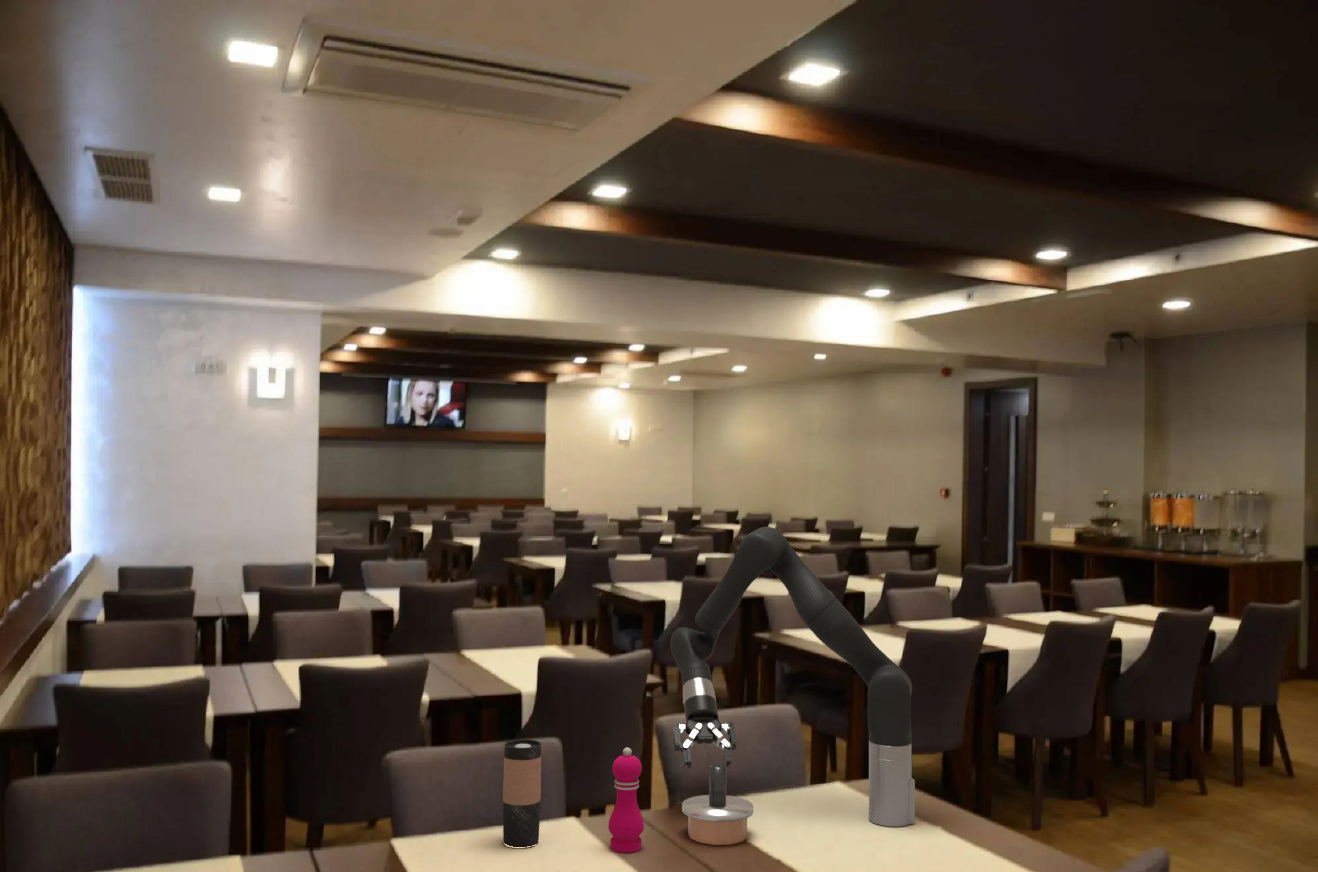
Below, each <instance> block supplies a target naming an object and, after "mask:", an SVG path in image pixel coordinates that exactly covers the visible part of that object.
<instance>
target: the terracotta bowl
mask: <svg viewBox="0 0 1318 872" xmlns="http://www.w3.org/2000/svg"><path fill="white" fill-rule="evenodd" d="M687 817H688V819H687V821H688V822H687V834H688V837H689V839H691V840H693V841H695V842H697V843H700V844H707V845H713V846H723V845H724V846H725V845H735V844H738V843H742V842H744V840H746V838H748V818H746V819H742V820H738V821H730V822H713V821H704V820H698V819H694V818H691V817H689V816H687Z"/></svg>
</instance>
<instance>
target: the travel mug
mask: <svg viewBox="0 0 1318 872" xmlns="http://www.w3.org/2000/svg"><path fill="white" fill-rule="evenodd" d="M503 752H504V756H503V758H504V759H503V762H504V763H503V781H502V782H503V784H502V785H503V786H502V787H503V788H502V831H503V832H502V835H503V837H502V839H503V840H502V841H504V843H505V844H507V845H509V846H513V847H527V846H532V845H535V844H537V843H538V844H539V840H540V839H539V837H540V819H541V799H542V797H541V796H542V795H541V793H542V790H541V789H542V788H541V787H542V786H541V785H542V783H541V781H542V742H540V741H538V740H533V739H513V740H509V741H506V742H505V743H504V751H503ZM504 843H503V844H504ZM538 844H537V845H538Z"/></svg>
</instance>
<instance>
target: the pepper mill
mask: <svg viewBox="0 0 1318 872" xmlns="http://www.w3.org/2000/svg"><path fill="white" fill-rule="evenodd" d="M632 752H633V751H632V749H631V748H630V747H625V748H623V750H622V755H619V756H617V758H615V760H614V761H613V763H612V768H611V770H612V774H613V776H614V777H615V779H614V788H615V789H616V801H615V805H614V808H613V810H612V811H611V814H610V816H609V820H608V827H607V828H608V831H609V833H610V834H611V835H612V836H611V838H610V849H611V850H612V851H613V852H616V853H622V854H629V853H636V852H639V851H641V849H642V838H641V837H640V836H641V834H642V833H644V829H645V821H644V818H643V815H642V813H641V810H640V807H639V805H638V800H637V799H638V798H637V791H638V788H639V787H640V785H639V783H640V780H639V779H638V778H639V777H641V774H642V772H643V771H642V770H643V767H642V766H643V765H642V762H641V761H640V759H639V758H638V757H637V756H635V755H632Z"/></svg>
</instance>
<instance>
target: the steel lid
mask: <svg viewBox="0 0 1318 872" xmlns="http://www.w3.org/2000/svg"><path fill="white" fill-rule="evenodd" d="M727 768H728V767H726V766H725V764H720V763H719V764H718V763H716V764H715V763H714V764H710V765H709V770H708V771H709V773H708V774H709V776H708V777H709V778H708V780H709V781H708V782H709V783H708V794H703V795H696V796H692V797H691V796H690V797H689V798H686V799H684V800H683V801H682V804H681V811H682V813H683V815H686V816H687V817H688V816H689V817H691V818H694V819H698V820H704V821H713V822H730V821H738V820H742V819H746V818H747V819H748V818H750V817H752V815H754V805H753V803H752V802H751V801H749V800H747V799H745V798H742V797H738V796H733V795H727Z"/></svg>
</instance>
